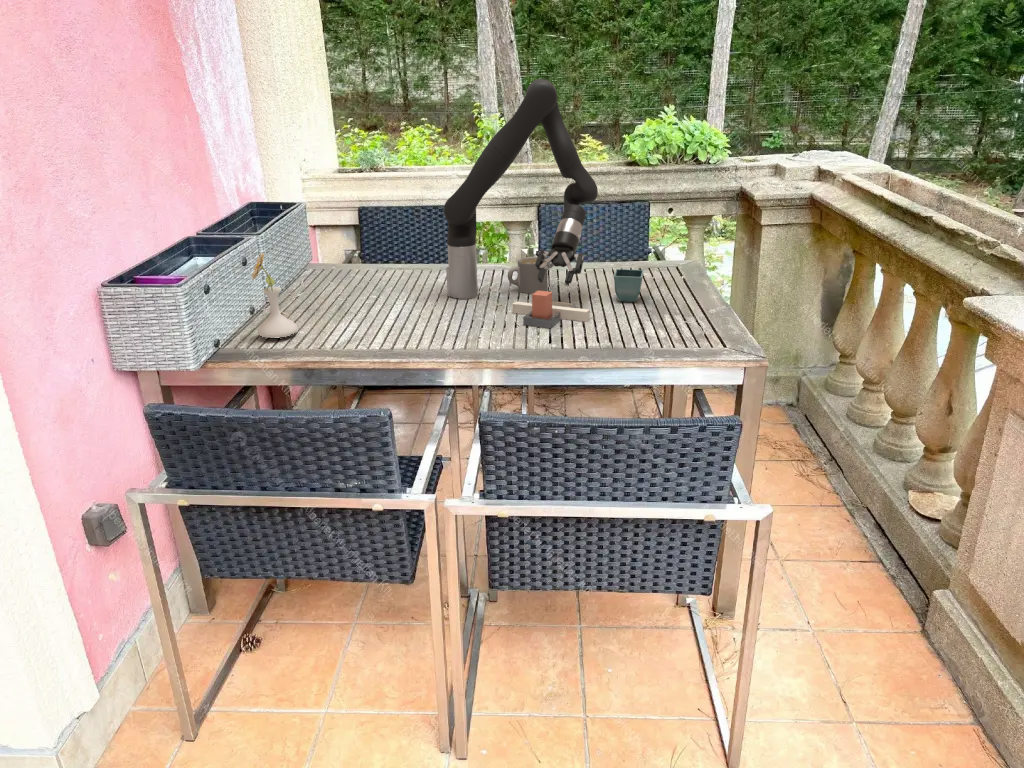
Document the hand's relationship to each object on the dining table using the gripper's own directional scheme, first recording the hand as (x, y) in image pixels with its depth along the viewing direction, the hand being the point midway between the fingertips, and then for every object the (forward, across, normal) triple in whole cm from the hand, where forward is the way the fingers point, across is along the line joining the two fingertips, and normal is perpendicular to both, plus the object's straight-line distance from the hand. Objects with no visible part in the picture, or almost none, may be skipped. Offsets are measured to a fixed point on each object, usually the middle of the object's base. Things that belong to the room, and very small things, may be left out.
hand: (553, 282), depth 233 cm
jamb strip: (+6, 0, +8) cm, 10 cm away
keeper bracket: (+13, 0, 0) cm, 13 cm away
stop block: (+13, 0, 0) cm, 13 cm away
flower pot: (-8, +17, +23) cm, 29 cm away
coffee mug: (-8, -18, +22) cm, 30 cm away
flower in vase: (+42, -66, -27) cm, 82 cm away
